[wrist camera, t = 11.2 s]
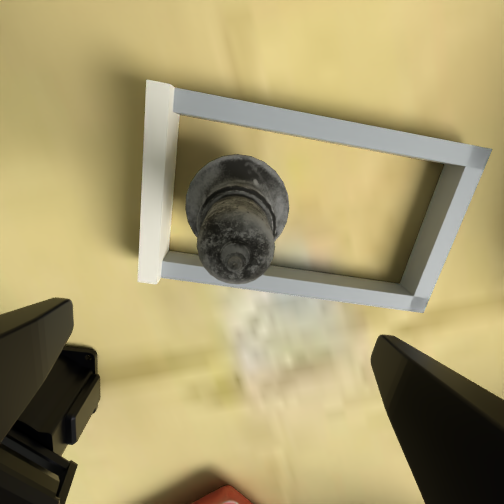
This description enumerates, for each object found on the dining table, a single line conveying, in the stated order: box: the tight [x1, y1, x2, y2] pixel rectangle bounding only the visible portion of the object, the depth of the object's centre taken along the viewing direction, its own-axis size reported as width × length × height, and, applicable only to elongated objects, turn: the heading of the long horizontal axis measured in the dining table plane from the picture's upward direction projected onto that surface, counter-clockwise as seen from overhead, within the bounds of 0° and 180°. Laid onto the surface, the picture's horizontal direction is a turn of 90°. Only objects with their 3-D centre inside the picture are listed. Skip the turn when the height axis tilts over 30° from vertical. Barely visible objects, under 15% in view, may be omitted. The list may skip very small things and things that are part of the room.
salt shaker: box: [186, 154, 289, 284], centre depth 15 cm, size 6×6×12 cm
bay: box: [138, 79, 492, 313], centre depth 19 cm, size 20×11×3 cm, turn 80°
